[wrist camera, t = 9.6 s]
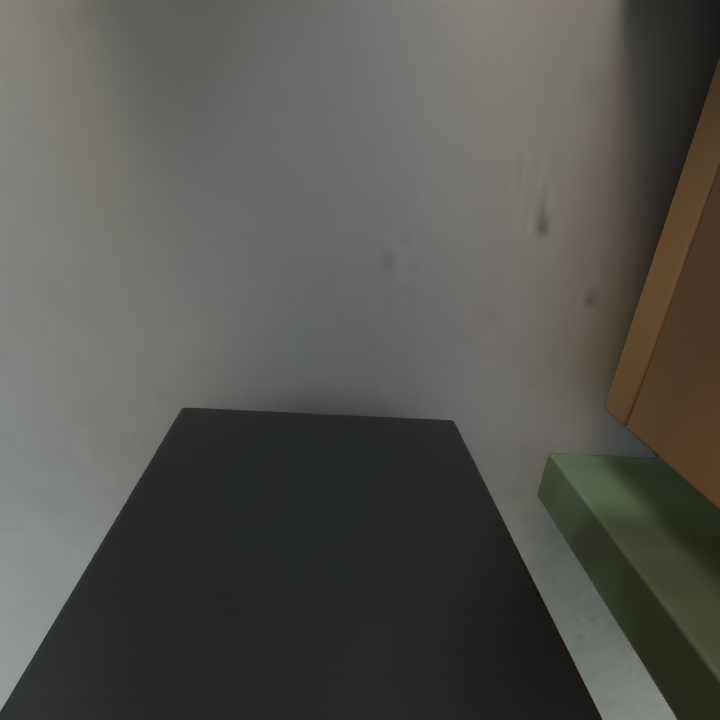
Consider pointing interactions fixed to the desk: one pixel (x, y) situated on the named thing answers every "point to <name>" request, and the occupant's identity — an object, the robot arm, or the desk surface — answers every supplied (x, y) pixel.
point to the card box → (305, 586)
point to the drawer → (663, 454)
